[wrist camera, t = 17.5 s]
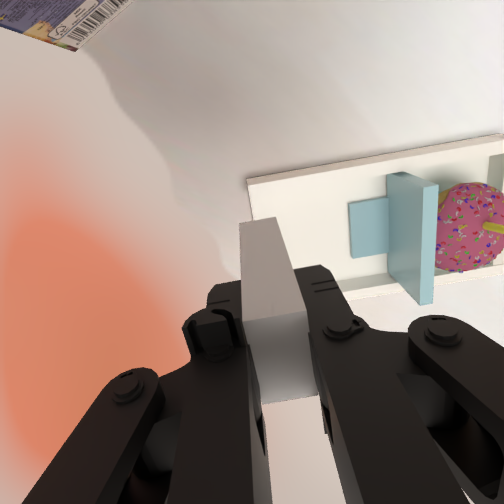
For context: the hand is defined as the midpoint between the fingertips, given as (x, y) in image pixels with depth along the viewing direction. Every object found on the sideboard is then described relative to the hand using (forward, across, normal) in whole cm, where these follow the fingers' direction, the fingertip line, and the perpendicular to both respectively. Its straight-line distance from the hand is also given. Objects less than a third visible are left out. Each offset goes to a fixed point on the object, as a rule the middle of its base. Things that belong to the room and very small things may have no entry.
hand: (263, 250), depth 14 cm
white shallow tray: (+21, +12, -9) cm, 26 cm away
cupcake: (+20, +18, -9) cm, 29 cm away
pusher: (+20, +12, -9) cm, 25 cm away
